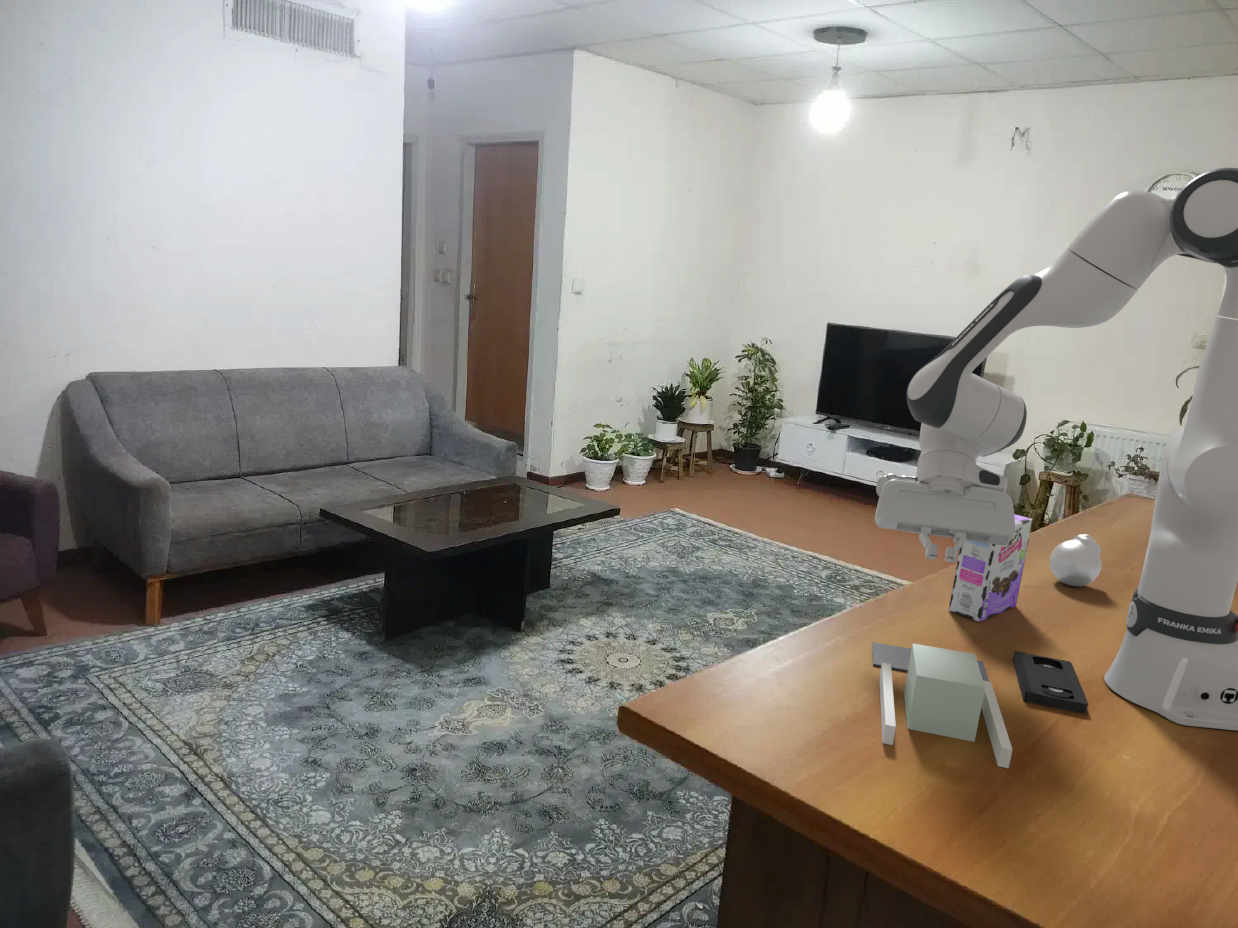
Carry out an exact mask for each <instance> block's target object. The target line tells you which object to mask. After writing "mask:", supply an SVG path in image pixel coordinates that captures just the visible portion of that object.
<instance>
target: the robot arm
mask: <svg viewBox="0 0 1238 928" xmlns="http://www.w3.org/2000/svg"><path fill="white" fill-rule="evenodd" d="M1174 256H1181V257H1186V258H1191V259H1195V260H1200V261H1203V262H1206V263H1212V264H1218V265H1221V266H1222V267H1223V269H1224V271H1225V274H1226V283H1225V284H1226V285H1225V288H1224V289H1225V290H1224V294H1223V297H1222V300H1221V303H1220V306H1219V308H1218V311H1217V312H1216V313H1217V314H1216V317H1215V319H1214V322H1213V325H1212V328H1211V331H1210V334H1209V337H1208V340H1207V343H1206V346H1205V348H1204V352H1203V355H1202V358H1201V361H1200V364H1199V367H1198V369H1197V372H1196V376H1195V383H1194V388H1193V393H1192V397H1191V401H1190V406H1189V409H1188V413H1187V417H1186V422H1185V426H1183V427H1182V428H1180V429H1179V430H1177V431H1176V432H1174V434H1173V435H1172V436H1171V437H1170V438H1169V440H1168V441H1167V442H1166V445H1165V447H1164V450H1163V452H1162V453H1163V455H1162V458H1161V464H1160V468H1159V474H1158V475H1159V476H1158V481H1157V485H1156V492H1155V499H1154V504H1153V505H1154V507H1153V512H1152V519H1151V527H1150V535H1149V540H1148V544H1147V549H1146V552H1145V558H1144V561H1143V567H1142V570H1141V575H1140V578H1139V579H1140V580H1139V583H1138V588H1137V589H1135V590H1134V591H1133V594H1132V599H1131V601H1130V603H1129V606H1128V611H1127V615H1126V624H1125V627H1126V630H1125V634H1124V637H1123V639H1122V643H1121V645H1120V648H1119V649H1118V652H1117V654H1116V656H1115V658H1114V660H1113V662H1112V664H1110V667H1109V669H1108V670H1107V671H1106V673H1105V674H1104V682H1105V683H1106V685H1107V687H1109V688H1110V690H1112V691H1113V692H1115V693H1116V694H1118V695H1119V696H1121V697H1122V698H1124V699H1126V700H1128V701H1130V702H1131V703H1134V704H1136V705H1137V706H1140V707H1142V708H1146V709H1147V710H1151V711H1153V712H1154V713H1158V714H1159V715H1161V716H1162V717H1164V718H1166V719H1168V720H1169V721H1172V722H1174V723H1175V724H1179V725H1183V726H1187V727H1188V726H1189V727H1198V728H1209V729H1219V730H1227V731H1238V614H1236V612H1234V611H1233V610H1231V608H1232V604H1233V599H1234V596H1235V593H1236V588H1237V585H1238V168H1237V167H1220V168H1215V169H1211V170H1208V171H1205V172H1202V173H1201V174H1199V175H1197V176H1195V177H1193V179H1191V180H1190V181H1188V182H1187V183H1186V184H1185V185H1184V186H1183V187H1182V188H1181V189H1180V191H1179V192H1178V193H1177V195H1176V196H1175V198H1174V199H1169V198H1165V197H1162V196H1161V195H1158V194H1155V193H1153V192H1150V191H1146V190H1140V189H1139V190H1136V189H1135V190H1134V189H1133V190H1132V189H1131V190H1127V191H1123V192H1121V193H1120V194H1117V195H1116V196H1114V197H1113V198H1112V199H1111V200H1110V201H1109V202H1108V203H1107V204H1105V206H1104V207H1103V208H1101V209H1100V210H1099V212H1098V213H1096V215H1095V216H1093V218H1091V220H1090V221H1088V222H1087V224H1086V225H1085V226H1084V227H1083V228H1082V229H1081V231H1080V232H1079V233H1078V234H1077V236H1075V238H1074V239H1073V240H1072V242H1071V243H1070V244H1069V245H1068V247H1067V248H1066V249H1065V251H1063V253H1062V254H1061V255H1060V256H1058V258H1057V259H1056V260H1055V261H1053V262H1052V263H1050V264H1049V265H1048V266H1047V267H1045V268H1044V269H1042V270H1040V271H1039V272H1037V273H1034V274H1028V275H1023V276H1020V277H1018V278H1016V280H1014V281H1013V282H1012V283H1010V284H1009V285H1008V286H1007V287H1006V288H1005V289H1003V290H1002V291H1001V292H1000V293H999V294H998V295H997V296H996V297H995V298H994V299H993V300H992V301H991V302H990V303H989V304H988V305H987V306H986V307H984V309H982V311H980V312H979V314H978V315H977V316H975V318H974V319H973V320H972V321H971V322H970V323H969V324H967V325H966V327H964V329H963V330H962V331H961V332H960V333H959V334H958V335H957V336H956V337H955V338H954V339H953V340H952V341H951V342H950V343H949V344H948V345H947V346H946V347H945V348H944V349H942V351H940V352H939V353H938V354H937V355H935V356H934V357H933V358H932V359H930V360H929V361H928V362H926V363H925V364H924V365H922V366H921V367H920V368H919V369H918V370H917V371H916V372H915V374H914V375H913V376H912V378H911V379H910V380H909V383H908V385H907V388H906V391H905V392H906V393H905V396H906V403H907V407H908V409H909V412H910V414H911V415H912V417H913V419H914V420H915V421H916V422H918V423H921V425H920V430H919V431H920V433H919V448H920V455H919V457H918V460H917V467H916V476H910V475H900V474H899V475H898V474H895V473H888V474H887V475H884V476H883V475H882V476H881V477H879V478H878V480H877V481H876V485H875V486H876V487H875V491H876V494H877V496H878V502H877V507H876V510H875V516H874V523H875V524H876V525H877V527H879V528H880V529H886V530H887V529H888V530H893V531H900V532H901V531H902V532H907V533H908V532H909V533H915V534H919V538H918V539H919V541H920V542H921V544H922V545H923V548H924V550H925V559H928V560H935V561H936V560H937V558H938V548H939V545H938V544H933V542H932V541H931V539H930V536H935V537H941V538H949V539H953V544H954V545H953V547H952V546H947V547H946V550H945V553H944V554H945V555H944V557H945V558H944V562H946V563H956V562H957V561H958V553H959V551H960V548H961V547H962V546H963V544H964V542H965V540H969V541H975V542H982V543H989V544H996V545H1006V544H1008V543H1009V542H1010V541H1011V540H1012V538H1013V536H1014V533H1015V516H1014V514H1015V510H1014V503H1013V501H1012V499H1011V496H1010V495H1009V494H1008V493H1007V490H1008V489H1007V488H1008V478H1006V477H1005V476H1003V475H1001V474H1000V473H999V474H998V473H995V472H993V471H991V470H988V469H986V468H984V467H981V466H979V465H978V464H977V460H978V458H980V457H981V458H982V457H983V458H984V457H988V456H991V455H992V454H995V453H999V452H1000V451H1003V450H1005V449H1007V448H1009V447H1011V446H1013V445H1014V444H1015V443H1017V442H1018V441H1019V440H1020V439H1021V437H1022V435H1023V433H1024V432H1025V431H1024V430H1025V428H1026V423H1027V417H1028V416H1027V414H1028V412H1027V411H1028V410H1027V406H1026V403H1025V401H1024V400H1025V399H1024V398H1022V397H1021V396H1019V395H1018V394H1016V393H1015V392H1013V391H1011V390H1009V389H1007V388H1005V387H1003V386H1001V385H999V384H997V383H994V382H992V381H990V380H987V379H985V378H983V377H981V376H979V375H978V374H975V373H973V371H974V370H975V369H976V368H977V367H978V366H979V365H981V363H982V362H983V361H984V360H985V359H986V358H987V357H989V355H991V353H993V352H994V350H996V349H997V347H998V346H1000V344H1002V343H1003V342H1004V341H1005V340H1006V339H1007V338H1008V337H1009V336H1010V335H1013V334H1014V333H1016V332H1017V331H1019V330H1022V329H1026V328H1031V327H1040V326H1041V327H1045V326H1046V327H1048V326H1049V327H1059V328H1069V329H1081V328H1088V327H1094V326H1098V325H1101V324H1102V323H1103V324H1104V323H1105V322H1108V321H1109V320H1111V319H1112V318H1113V317H1115V316H1117V314H1118V313H1119V312H1120V311H1122V310H1123V308H1124V307H1126V305H1127V304H1128V303H1129V302H1130V300H1131V299H1132V298H1133V297H1134V295H1135V294H1136V293H1137V292H1138V289H1140V288H1141V287H1142V286H1143V284H1145V282H1146V281H1147V279H1148V278H1149V277H1150V276H1151V274H1153V272H1154V271H1155V270H1156V269H1157V268H1158V267H1159V266H1160V265H1161V264H1163V262H1164V261H1166V260H1168V259H1169V258H1171V257H1174Z"/></svg>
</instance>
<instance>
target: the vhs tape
mask: <svg viewBox="0 0 1238 928" xmlns="http://www.w3.org/2000/svg"><path fill="white" fill-rule="evenodd" d="M1012 655H1013V656H1012V663H1013V667H1014V670H1015V674H1016V678H1017V683H1018V686H1019V690H1020V694H1021V698H1022V702H1024V703H1028V704H1033V705H1040V706H1043V707H1048V708H1053V709H1057V710H1063V711H1068V712H1073V713H1077V714H1082V715H1086V714H1087V710H1088V706H1089V701H1088V700H1087V697H1086V695H1085V692H1084V690H1083V687H1082V685H1081V683H1080V679H1079V677H1078V675H1077V673H1076V670H1075V667H1074V666H1073V663H1072V662H1071V661H1068V660H1064V659H1058V658H1053V657H1048V656H1044V655H1042V656H1041V655H1038V654H1033V653H1026V652H1023V651H1018V650H1014V651H1013V654H1012Z"/></svg>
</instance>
